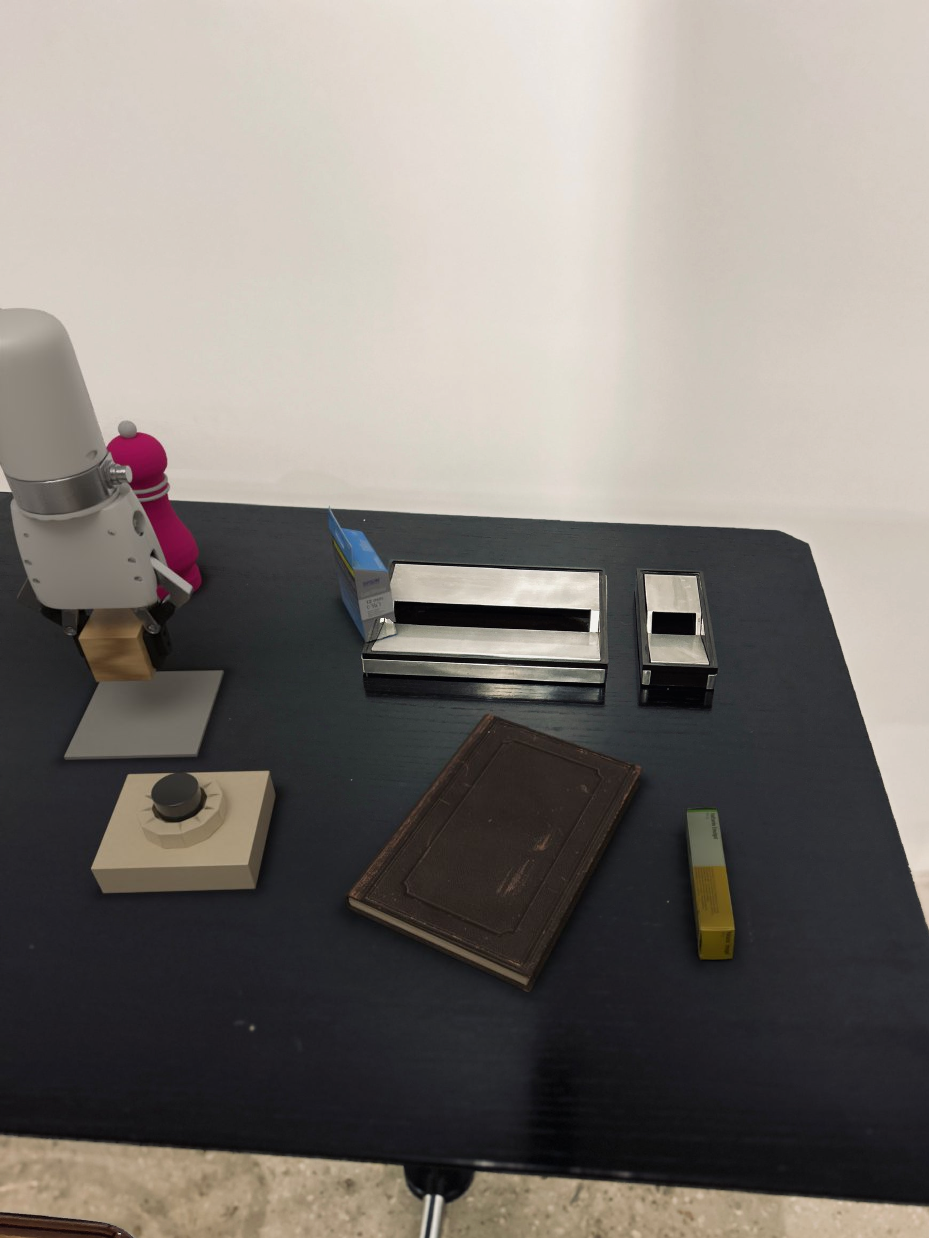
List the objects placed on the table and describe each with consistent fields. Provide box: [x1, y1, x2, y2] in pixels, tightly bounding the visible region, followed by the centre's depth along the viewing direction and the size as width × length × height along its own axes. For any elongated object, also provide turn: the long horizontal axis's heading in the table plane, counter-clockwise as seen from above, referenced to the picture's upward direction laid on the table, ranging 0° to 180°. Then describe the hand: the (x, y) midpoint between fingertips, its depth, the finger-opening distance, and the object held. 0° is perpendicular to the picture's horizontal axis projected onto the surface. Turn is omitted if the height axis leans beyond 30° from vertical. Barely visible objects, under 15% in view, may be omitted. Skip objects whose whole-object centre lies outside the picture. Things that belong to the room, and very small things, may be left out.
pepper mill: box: [106, 420, 202, 600], centre depth 95 cm, size 7×7×20 cm
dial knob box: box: [90, 770, 277, 894], centre depth 72 cm, size 12×10×5 cm
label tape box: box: [328, 505, 396, 643], centre depth 93 cm, size 9×4×12 cm, turn 25°
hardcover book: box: [344, 713, 643, 994], centre depth 73 cm, size 16×23×2 cm
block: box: [78, 608, 157, 683], centre depth 79 cm, size 5×5×5 cm
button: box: [151, 772, 204, 823], centre depth 70 cm, size 4×4×2 cm
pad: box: [63, 669, 225, 761], centre depth 85 cm, size 12×12×1 cm
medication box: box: [685, 806, 736, 961], centre depth 69 cm, size 12×3×4 cm, turn 177°
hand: (130, 658), depth 80 cm, fingers closed on block, 5 cm apart
